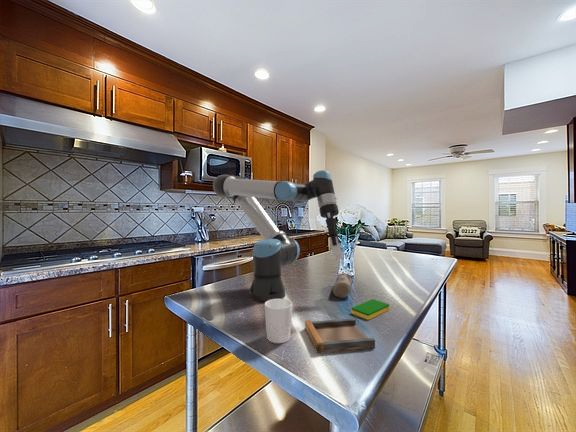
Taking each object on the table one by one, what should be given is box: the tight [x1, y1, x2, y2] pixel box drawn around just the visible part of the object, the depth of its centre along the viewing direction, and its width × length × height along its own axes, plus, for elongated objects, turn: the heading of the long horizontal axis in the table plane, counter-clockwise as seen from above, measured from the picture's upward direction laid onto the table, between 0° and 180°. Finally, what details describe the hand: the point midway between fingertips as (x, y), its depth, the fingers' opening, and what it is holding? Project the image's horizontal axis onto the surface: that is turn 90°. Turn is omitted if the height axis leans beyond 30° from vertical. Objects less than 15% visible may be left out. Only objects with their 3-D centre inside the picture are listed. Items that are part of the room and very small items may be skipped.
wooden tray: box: [304, 317, 376, 354], centre depth 74 cm, size 16×13×3 cm
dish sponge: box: [351, 298, 390, 320], centre depth 93 cm, size 7×14×2 cm, turn 129°
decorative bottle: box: [332, 272, 354, 299], centre depth 118 cm, size 26×8×7 cm, turn 163°
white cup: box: [264, 298, 293, 344], centre depth 74 cm, size 8×8×10 cm
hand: (338, 257), depth 99 cm, fingers open, 13 cm apart
